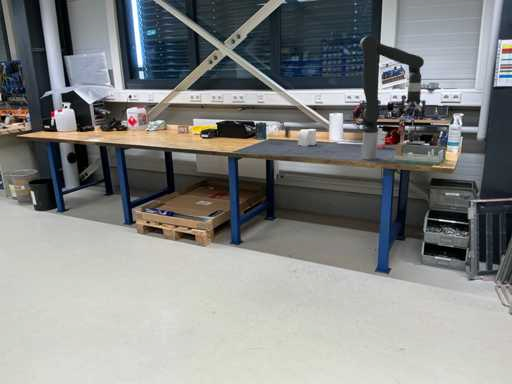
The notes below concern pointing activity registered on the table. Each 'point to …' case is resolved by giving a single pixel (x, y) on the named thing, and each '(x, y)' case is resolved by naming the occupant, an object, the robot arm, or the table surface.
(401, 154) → the striker
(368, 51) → the robot arm
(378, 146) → the ink cartridge box
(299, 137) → the light grey block
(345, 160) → the table surface
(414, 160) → the translucent green rectangular tray
